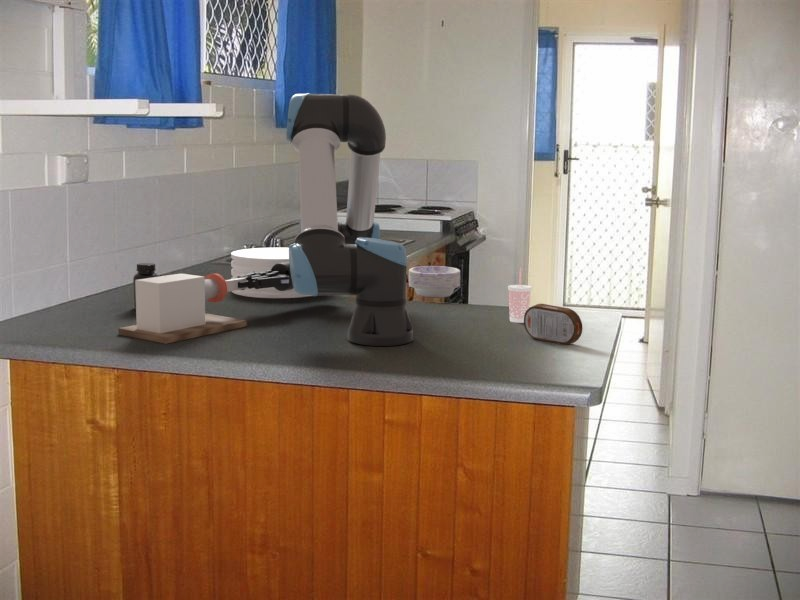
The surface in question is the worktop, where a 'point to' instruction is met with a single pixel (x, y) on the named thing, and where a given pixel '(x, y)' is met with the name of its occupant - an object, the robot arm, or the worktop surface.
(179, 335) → the board
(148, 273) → the supplement bottle
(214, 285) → the plug
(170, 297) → the block
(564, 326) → the tin
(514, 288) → the beverage cup
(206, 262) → the worktop surface
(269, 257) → the plate stack
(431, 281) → the paper bowls
